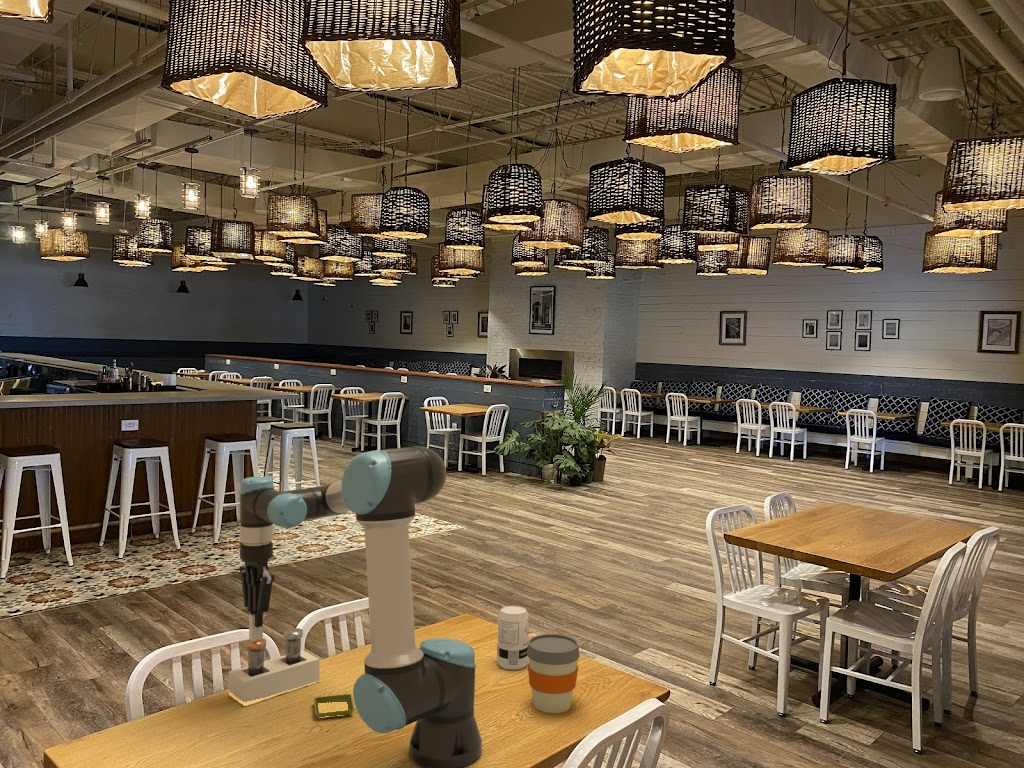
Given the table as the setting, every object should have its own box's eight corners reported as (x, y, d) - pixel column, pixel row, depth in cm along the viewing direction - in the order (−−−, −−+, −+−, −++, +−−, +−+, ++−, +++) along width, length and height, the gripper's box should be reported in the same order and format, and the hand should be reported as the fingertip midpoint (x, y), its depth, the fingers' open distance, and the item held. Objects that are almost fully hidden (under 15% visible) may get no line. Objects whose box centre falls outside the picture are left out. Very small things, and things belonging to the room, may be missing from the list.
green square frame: (354, 718, 182) (354, 709, 182) (315, 723, 180) (315, 713, 180) (351, 702, 191) (351, 693, 191) (313, 706, 188) (313, 697, 188)
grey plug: (289, 669, 196) (289, 636, 196) (280, 663, 199) (280, 631, 199) (306, 663, 199) (306, 631, 199) (296, 658, 202) (296, 626, 202)
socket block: (244, 707, 186) (244, 682, 186) (228, 696, 192) (228, 671, 191) (319, 682, 200) (319, 659, 200) (302, 672, 206) (302, 650, 206)
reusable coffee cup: (541, 688, 199) (542, 629, 199) (587, 701, 193) (588, 640, 192) (516, 708, 189) (517, 645, 188) (563, 721, 182) (564, 657, 181)
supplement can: (492, 661, 216) (493, 607, 215) (519, 657, 219) (520, 603, 218) (504, 673, 208) (505, 616, 208) (532, 668, 212) (534, 612, 211)
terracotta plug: (251, 680, 189) (251, 646, 188) (242, 674, 192) (242, 641, 192) (269, 675, 192) (269, 641, 192) (260, 669, 195) (260, 636, 195)
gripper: (284, 544, 189) (283, 642, 190) (257, 534, 198) (257, 627, 199) (255, 550, 183) (254, 650, 185) (229, 539, 192) (228, 635, 194)
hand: (255, 638), depth 192 cm, fingers closed
